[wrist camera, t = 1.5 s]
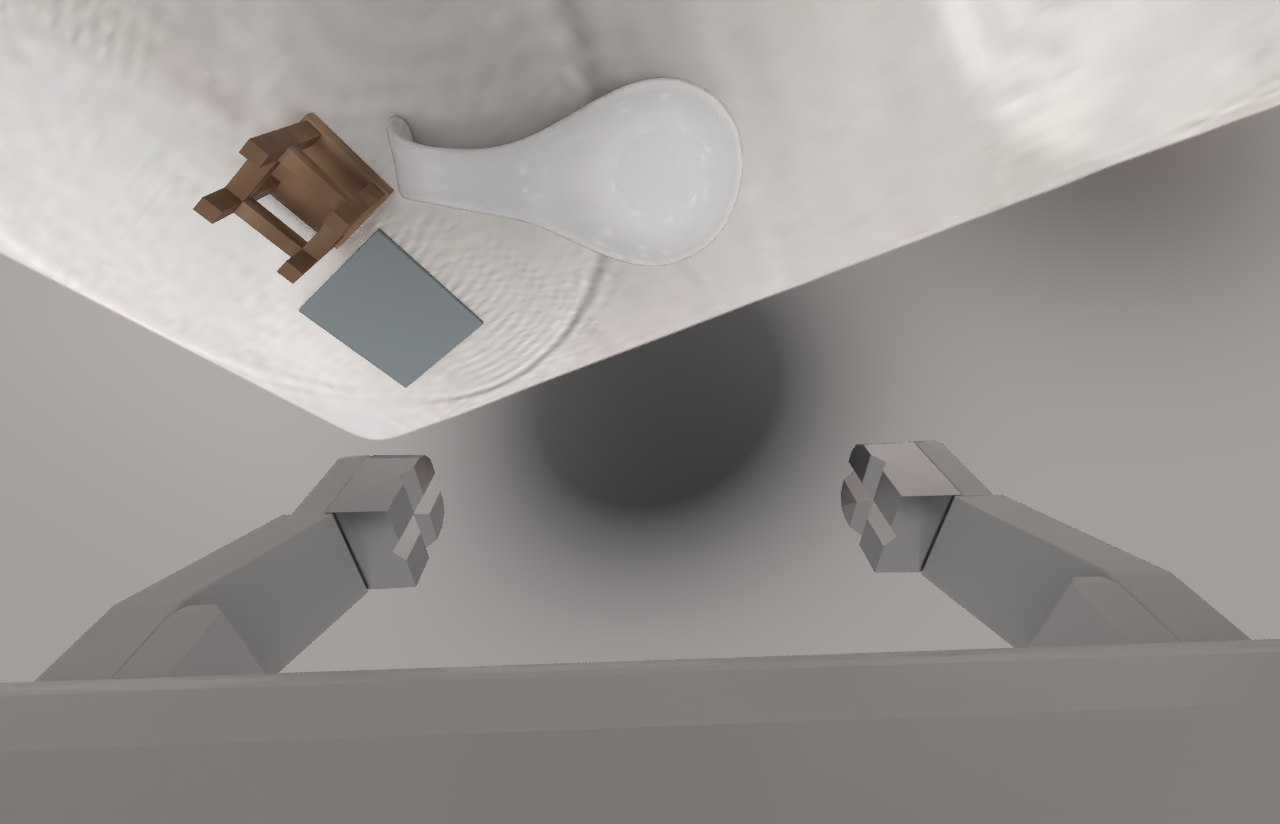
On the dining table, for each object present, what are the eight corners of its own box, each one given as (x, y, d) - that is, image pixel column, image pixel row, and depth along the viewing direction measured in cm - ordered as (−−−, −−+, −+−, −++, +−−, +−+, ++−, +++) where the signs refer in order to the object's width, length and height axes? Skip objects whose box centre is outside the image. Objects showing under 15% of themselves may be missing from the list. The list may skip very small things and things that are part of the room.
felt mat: (300, 308, 39) (298, 310, 39) (379, 228, 36) (377, 230, 36) (406, 385, 44) (405, 387, 44) (483, 321, 41) (482, 324, 41)
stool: (261, 175, 33) (187, 208, 27) (313, 112, 31) (247, 132, 25) (342, 243, 36) (294, 288, 30) (394, 190, 35) (354, 225, 28)
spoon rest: (744, 80, 33) (780, 89, 28) (717, 250, 40) (741, 285, 35) (378, 53, 30) (334, 58, 24) (418, 243, 37) (392, 280, 32)
